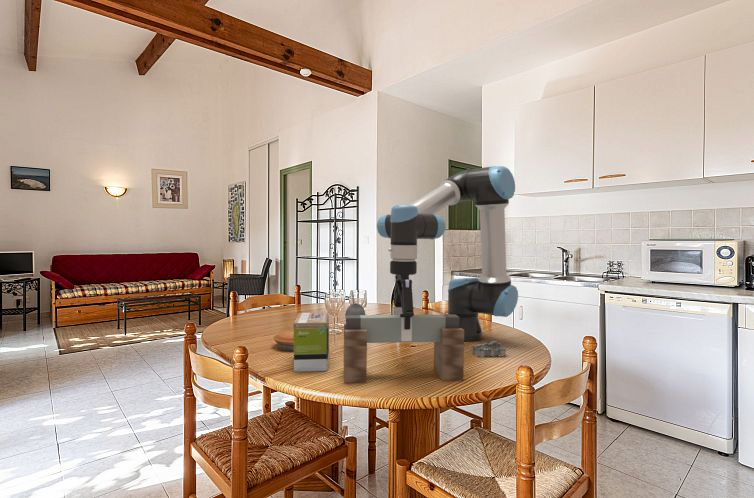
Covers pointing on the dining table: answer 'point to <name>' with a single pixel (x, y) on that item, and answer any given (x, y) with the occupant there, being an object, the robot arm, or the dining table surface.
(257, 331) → the dining table surface
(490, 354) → the egg carton
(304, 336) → the tea box
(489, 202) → the robot arm
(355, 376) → the posts
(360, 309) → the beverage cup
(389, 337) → the bed rail
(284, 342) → the pie
